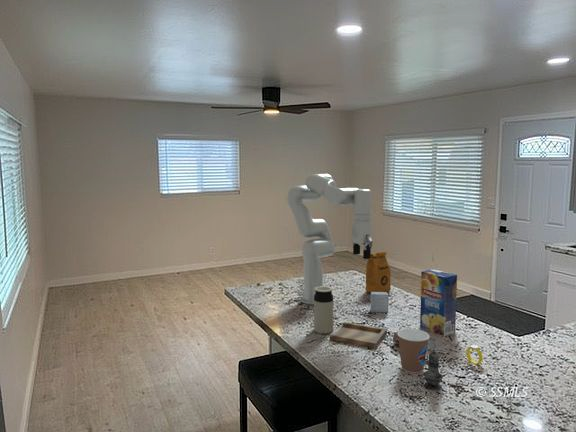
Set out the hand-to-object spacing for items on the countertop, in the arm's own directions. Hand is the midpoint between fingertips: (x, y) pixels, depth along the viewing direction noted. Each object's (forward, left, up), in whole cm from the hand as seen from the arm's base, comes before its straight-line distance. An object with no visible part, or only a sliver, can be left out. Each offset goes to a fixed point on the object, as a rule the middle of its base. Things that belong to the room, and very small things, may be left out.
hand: (361, 256), depth 186 cm
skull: (+24, -18, -29) cm, 42 cm away
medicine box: (+4, +15, -29) cm, 33 cm away
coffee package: (-5, +45, -29) cm, 54 cm away
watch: (+48, -23, -29) cm, 61 cm away
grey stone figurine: (+38, -46, -29) cm, 66 cm away
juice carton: (+32, +3, -29) cm, 43 cm away
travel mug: (-10, -19, -29) cm, 36 cm away
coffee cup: (+30, -37, -29) cm, 56 cm away
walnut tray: (+5, -19, -29) cm, 35 cm away
